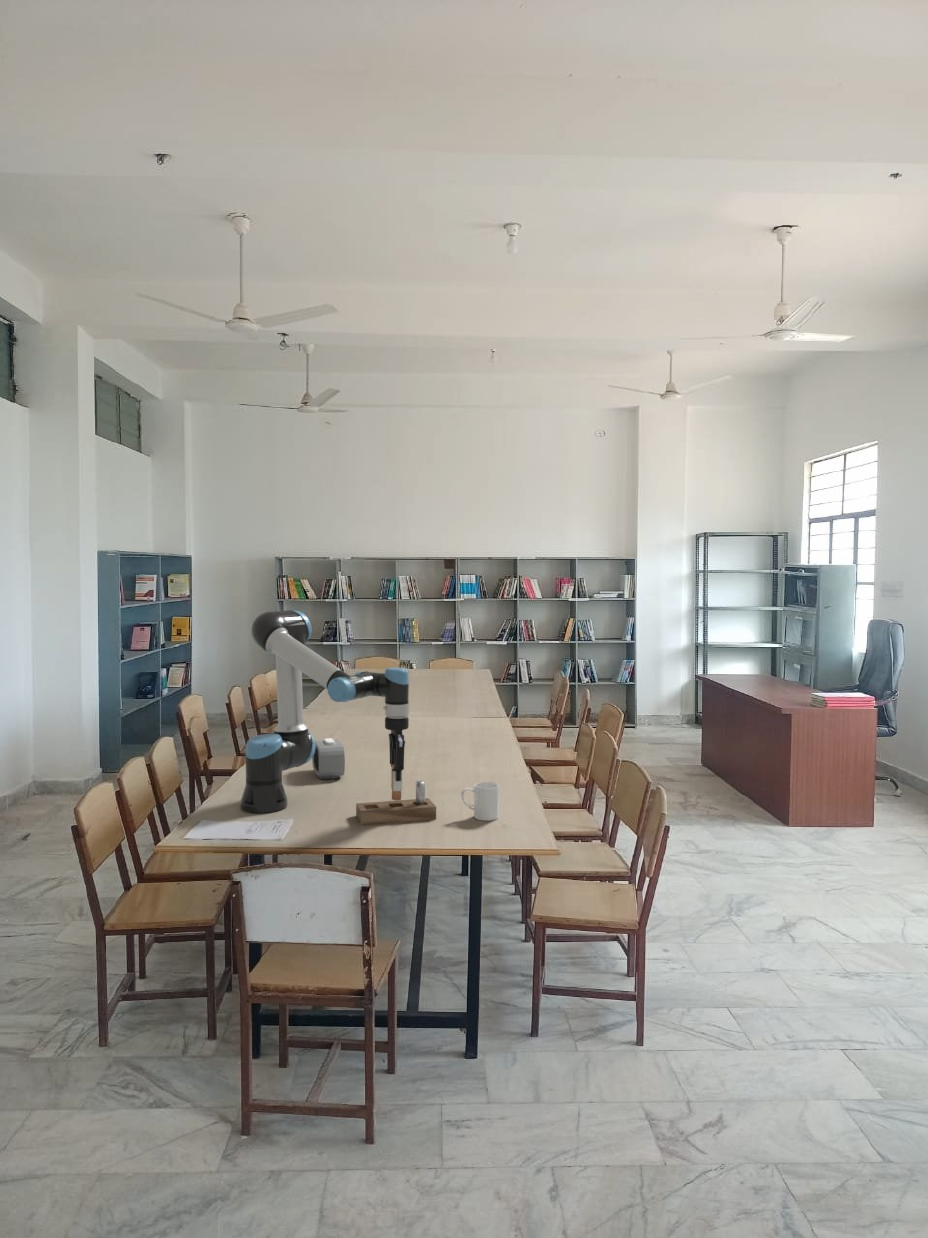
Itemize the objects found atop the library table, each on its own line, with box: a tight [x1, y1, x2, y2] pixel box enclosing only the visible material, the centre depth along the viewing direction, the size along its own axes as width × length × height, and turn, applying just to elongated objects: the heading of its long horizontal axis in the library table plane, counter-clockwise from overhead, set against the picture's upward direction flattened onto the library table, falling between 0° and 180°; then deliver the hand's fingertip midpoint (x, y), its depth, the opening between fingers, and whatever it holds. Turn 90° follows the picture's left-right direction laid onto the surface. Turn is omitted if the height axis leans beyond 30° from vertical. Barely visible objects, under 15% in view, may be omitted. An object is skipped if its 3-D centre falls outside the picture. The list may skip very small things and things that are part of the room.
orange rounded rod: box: [391, 764, 402, 801], centre depth 263 cm, size 3×3×11 cm
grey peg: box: [415, 780, 426, 806], centre depth 266 cm, size 3×3×11 cm
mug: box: [460, 781, 500, 822], centre depth 264 cm, size 12×8×10 cm, turn 103°
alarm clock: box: [311, 737, 346, 780], centre depth 317 cm, size 21×10×13 cm, turn 18°
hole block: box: [355, 797, 437, 826], centre depth 264 cm, size 10×24×4 cm, turn 107°
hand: (396, 789), depth 263 cm, fingers closed on orange rounded rod, 2 cm apart
